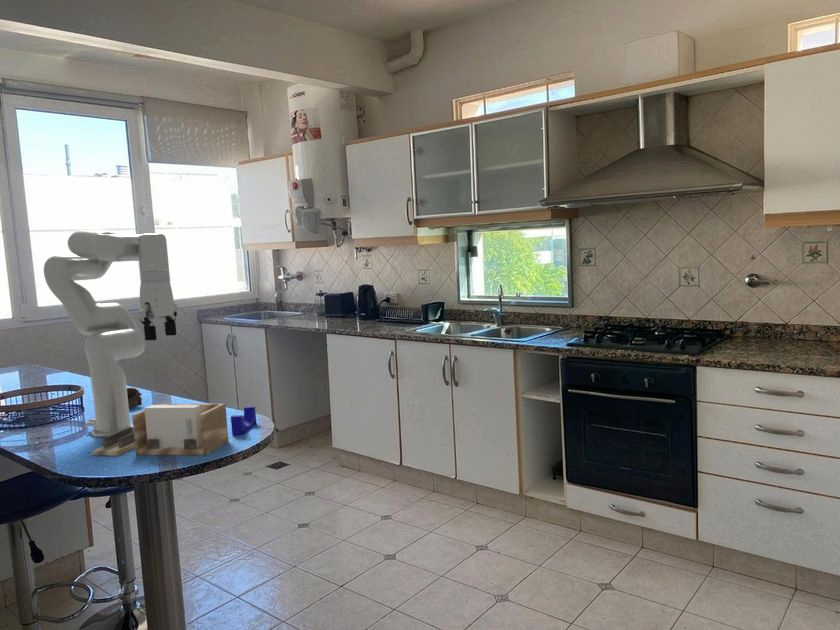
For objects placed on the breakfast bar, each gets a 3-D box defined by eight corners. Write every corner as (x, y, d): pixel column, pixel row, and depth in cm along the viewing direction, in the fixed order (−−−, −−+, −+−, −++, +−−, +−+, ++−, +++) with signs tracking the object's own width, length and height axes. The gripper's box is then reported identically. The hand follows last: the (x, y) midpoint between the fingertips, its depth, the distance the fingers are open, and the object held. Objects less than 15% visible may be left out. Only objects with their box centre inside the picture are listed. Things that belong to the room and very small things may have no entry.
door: (146, 448, 172) (142, 408, 171) (154, 444, 176) (150, 405, 175) (196, 448, 169) (193, 408, 168) (204, 444, 173) (200, 404, 172)
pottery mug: (150, 404, 234) (146, 387, 229) (135, 422, 226) (130, 404, 222) (121, 398, 236) (116, 381, 231) (105, 415, 228) (100, 398, 224)
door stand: (92, 455, 174) (91, 442, 173) (134, 436, 191) (132, 424, 191) (118, 455, 172) (117, 442, 172) (158, 436, 190) (156, 424, 189)
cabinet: (136, 454, 172) (132, 414, 171) (161, 441, 184) (158, 404, 183) (206, 455, 168) (203, 414, 167) (228, 441, 180) (225, 403, 179)
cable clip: (242, 425, 197) (241, 406, 197) (256, 425, 197) (255, 406, 196) (227, 436, 186) (225, 416, 185) (242, 436, 185) (240, 416, 184)
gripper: (161, 276, 188) (166, 334, 190) (124, 279, 171) (130, 342, 173) (184, 275, 186) (189, 333, 188) (148, 278, 170) (155, 341, 171)
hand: (161, 337), depth 180 cm, fingers open, 9 cm apart
